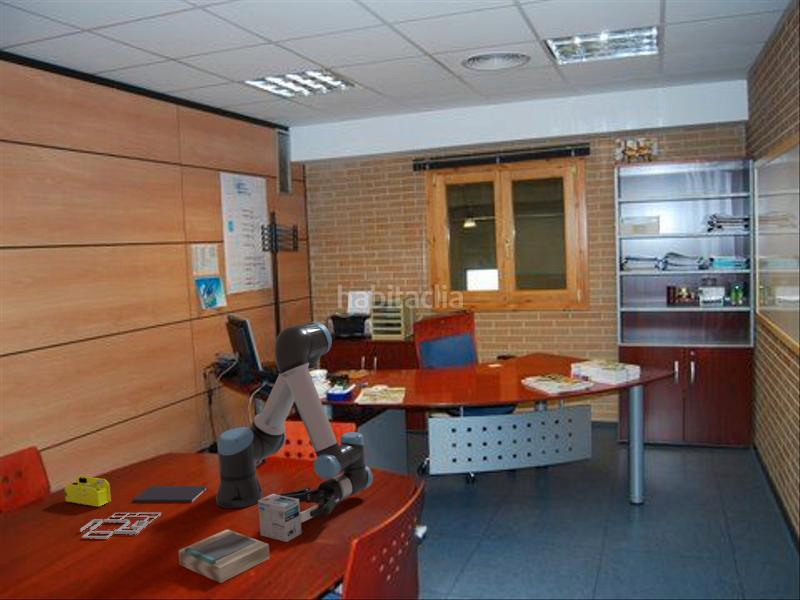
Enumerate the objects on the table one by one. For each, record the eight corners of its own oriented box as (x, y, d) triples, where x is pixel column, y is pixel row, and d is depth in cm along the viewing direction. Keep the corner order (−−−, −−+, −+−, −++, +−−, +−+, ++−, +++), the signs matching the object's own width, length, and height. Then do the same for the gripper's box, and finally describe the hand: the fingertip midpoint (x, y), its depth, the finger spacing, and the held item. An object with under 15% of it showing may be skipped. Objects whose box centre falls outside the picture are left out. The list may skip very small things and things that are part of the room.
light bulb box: (302, 533, 198) (300, 498, 198) (286, 543, 193) (284, 506, 192) (275, 527, 204) (272, 492, 203) (259, 535, 198) (257, 500, 198)
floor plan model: (59, 550, 196) (59, 543, 196) (107, 515, 221) (107, 509, 221) (120, 551, 194) (119, 544, 194) (161, 516, 219) (161, 510, 218)
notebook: (132, 504, 231) (192, 504, 228) (132, 499, 230) (192, 499, 228) (151, 490, 243) (207, 490, 240) (150, 486, 243) (207, 485, 240)
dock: (179, 564, 182) (178, 546, 182) (228, 542, 195) (227, 525, 194) (220, 583, 171) (219, 563, 171) (269, 558, 184) (268, 539, 183)
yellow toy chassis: (112, 503, 231) (110, 479, 230) (98, 509, 226) (96, 485, 225) (79, 497, 238) (77, 474, 237) (65, 503, 233) (63, 480, 232)
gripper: (364, 509, 208) (315, 534, 191) (307, 494, 223) (257, 516, 206) (363, 485, 207) (314, 508, 190) (306, 471, 222) (255, 492, 206)
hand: (284, 512), depth 198 cm, fingers open, 13 cm apart
